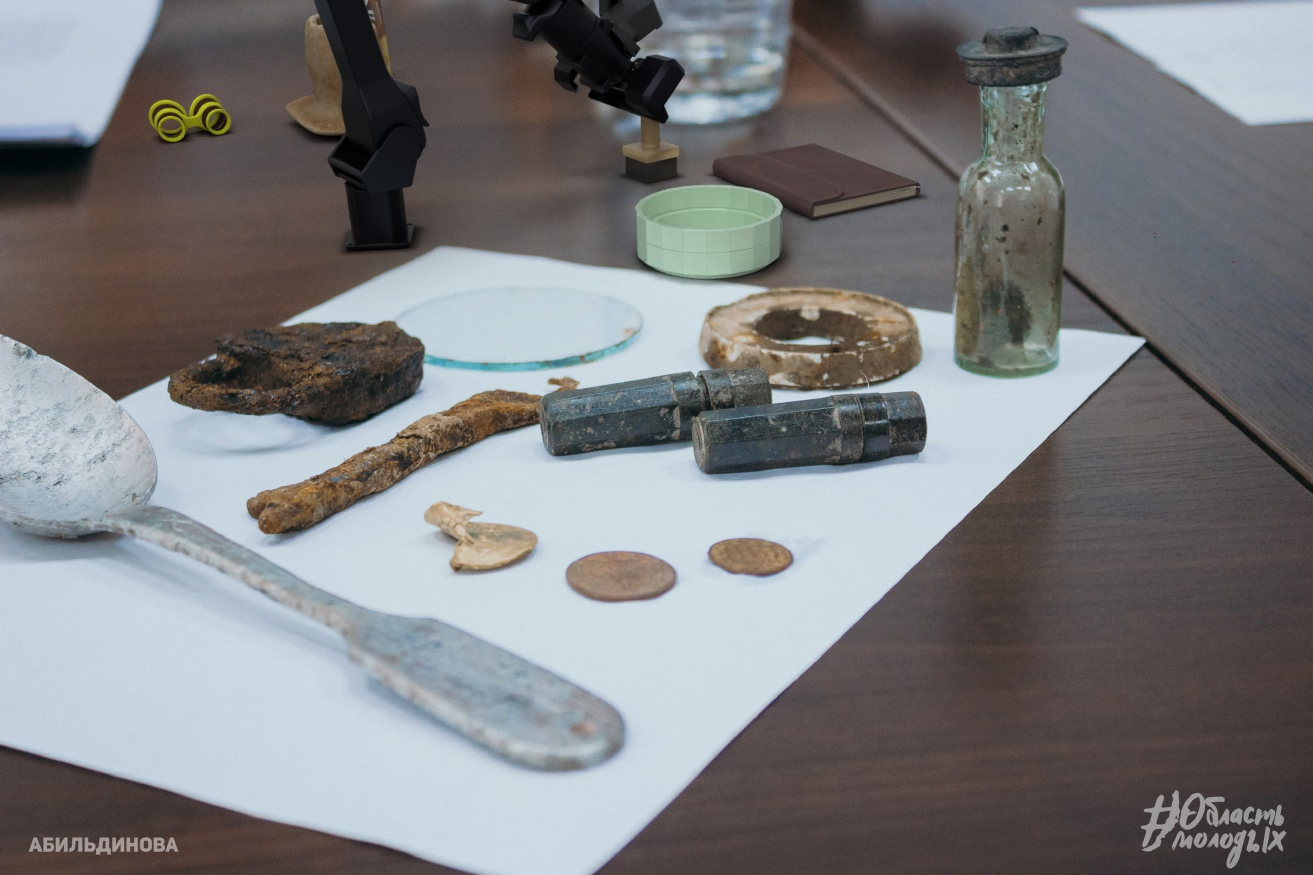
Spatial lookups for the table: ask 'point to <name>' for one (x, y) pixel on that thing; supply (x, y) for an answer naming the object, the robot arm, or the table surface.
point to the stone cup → (320, 85)
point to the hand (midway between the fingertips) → (659, 118)
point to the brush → (650, 155)
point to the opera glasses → (198, 117)
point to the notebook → (815, 179)
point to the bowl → (709, 231)
